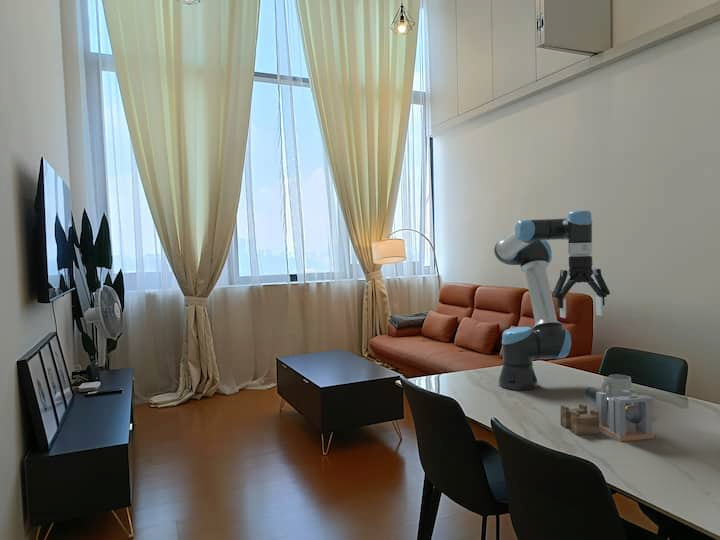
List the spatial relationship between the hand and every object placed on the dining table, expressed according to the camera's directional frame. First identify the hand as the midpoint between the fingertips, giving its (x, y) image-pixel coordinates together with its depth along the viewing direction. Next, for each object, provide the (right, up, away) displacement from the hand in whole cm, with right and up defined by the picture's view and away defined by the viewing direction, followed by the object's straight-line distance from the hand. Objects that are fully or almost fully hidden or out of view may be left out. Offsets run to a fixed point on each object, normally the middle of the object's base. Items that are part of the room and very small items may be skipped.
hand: (581, 316), depth 174 cm
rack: (-9, -33, -20) cm, 39 cm away
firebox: (+2, -33, -20) cm, 38 cm away
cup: (+15, -31, +5) cm, 35 cm away
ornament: (+13, -32, -7) cm, 35 cm away
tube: (+2, -27, -19) cm, 34 cm away
